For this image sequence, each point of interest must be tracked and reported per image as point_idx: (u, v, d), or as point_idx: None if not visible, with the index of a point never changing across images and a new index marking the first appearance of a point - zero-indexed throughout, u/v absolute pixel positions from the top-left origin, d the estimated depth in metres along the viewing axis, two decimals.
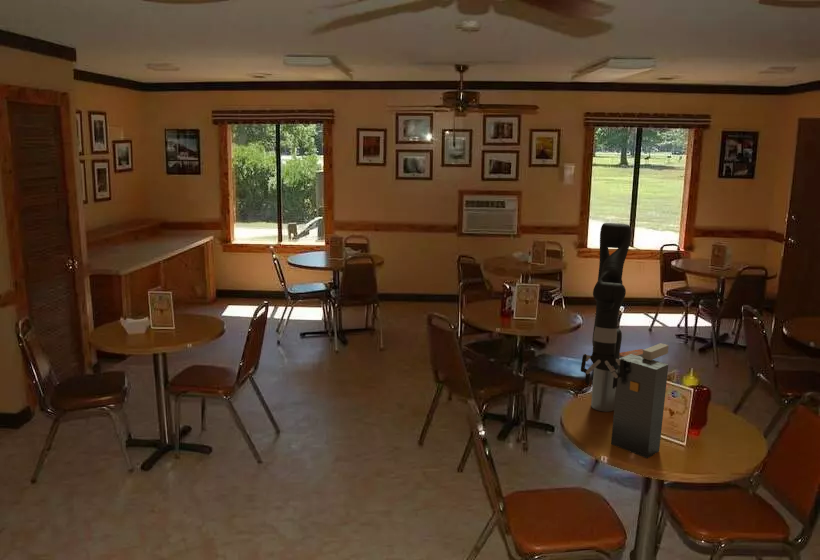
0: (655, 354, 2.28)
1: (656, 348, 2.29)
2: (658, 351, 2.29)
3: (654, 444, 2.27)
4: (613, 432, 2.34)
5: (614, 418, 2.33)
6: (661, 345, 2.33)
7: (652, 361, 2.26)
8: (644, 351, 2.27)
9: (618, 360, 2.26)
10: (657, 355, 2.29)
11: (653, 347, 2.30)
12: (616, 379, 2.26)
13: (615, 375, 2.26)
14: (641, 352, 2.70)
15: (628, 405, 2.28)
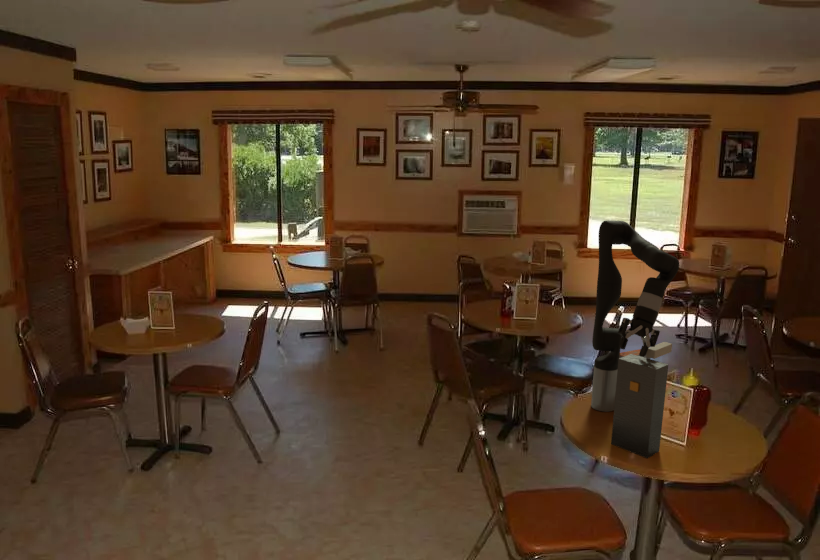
0: (659, 352, 2.29)
1: (660, 346, 2.31)
2: (662, 349, 2.31)
3: (654, 444, 2.27)
4: (613, 432, 2.34)
5: (614, 418, 2.33)
6: (665, 343, 2.35)
7: (652, 361, 2.26)
8: (648, 349, 2.29)
9: (654, 330, 2.28)
10: (660, 354, 2.30)
11: (657, 346, 2.32)
12: (647, 348, 2.27)
13: (648, 344, 2.27)
14: None
15: (628, 405, 2.28)
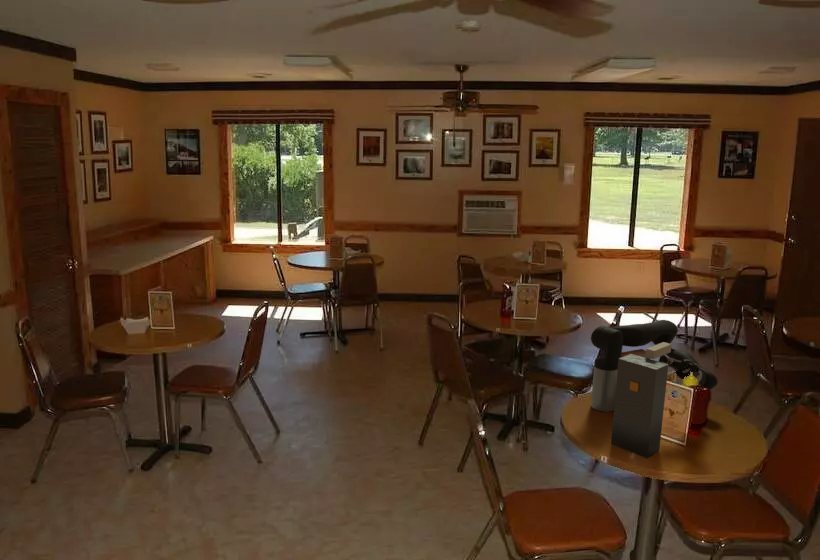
0: (658, 352, 2.29)
1: (659, 347, 2.31)
2: (661, 350, 2.30)
3: (654, 444, 2.27)
4: (613, 432, 2.34)
5: (614, 418, 2.33)
6: (664, 344, 2.34)
7: (652, 361, 2.26)
8: (647, 350, 2.29)
9: None
10: (660, 354, 2.30)
11: (656, 346, 2.32)
12: None
13: None
14: (641, 352, 2.70)
15: (628, 405, 2.28)
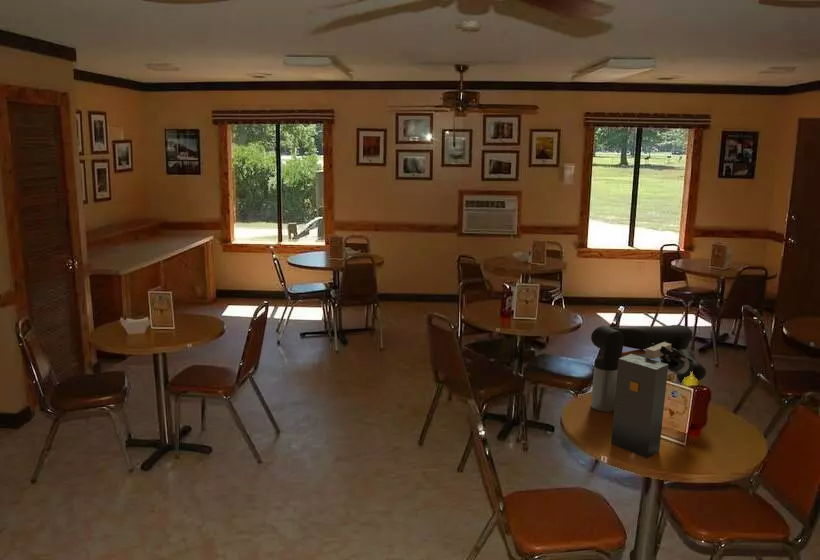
0: (658, 352, 2.29)
1: (659, 347, 2.31)
2: None
3: (654, 444, 2.27)
4: (613, 432, 2.34)
5: (614, 418, 2.33)
6: (664, 344, 2.34)
7: (652, 361, 2.26)
8: (647, 350, 2.29)
9: None
10: (659, 354, 2.30)
11: (656, 346, 2.32)
12: None
13: None
14: (641, 352, 2.70)
15: (628, 405, 2.28)
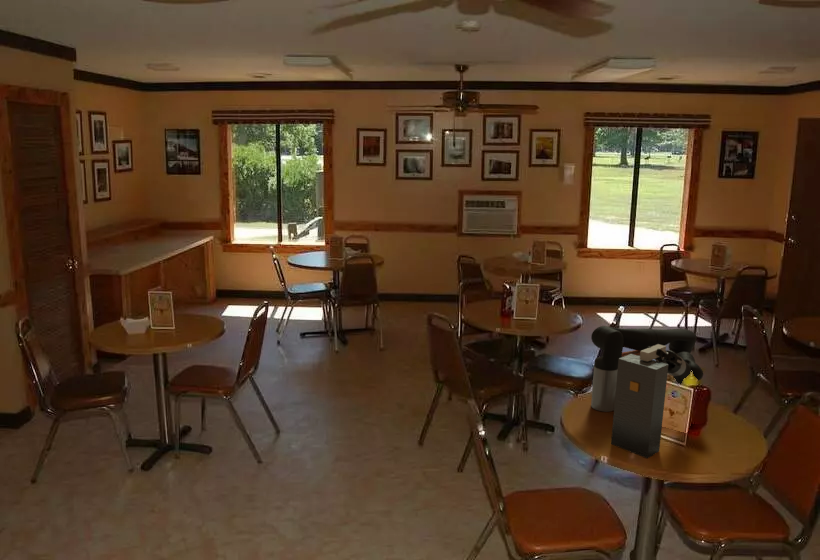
0: (652, 355, 2.26)
1: (654, 349, 2.28)
2: (655, 352, 2.28)
3: (654, 444, 2.27)
4: (613, 432, 2.34)
5: (614, 418, 2.33)
6: (659, 346, 2.32)
7: (652, 361, 2.26)
8: (641, 352, 2.26)
9: None
10: (654, 356, 2.28)
11: (650, 348, 2.29)
12: None
13: None
14: None
15: (628, 405, 2.28)
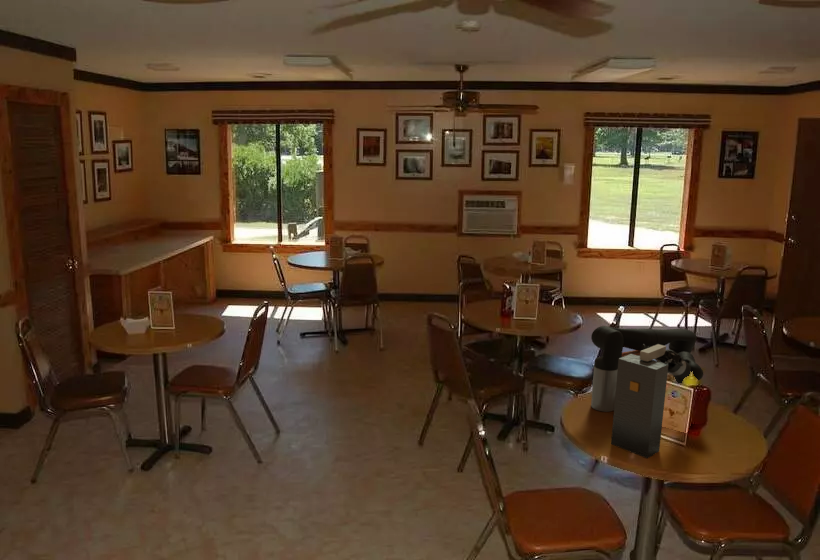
0: (652, 355, 2.26)
1: (654, 349, 2.28)
2: (655, 352, 2.28)
3: (654, 444, 2.27)
4: (613, 432, 2.34)
5: (614, 418, 2.33)
6: (659, 346, 2.32)
7: (652, 361, 2.26)
8: (641, 352, 2.26)
9: None
10: (654, 356, 2.28)
11: (650, 348, 2.29)
12: None
13: None
14: None
15: (628, 405, 2.28)
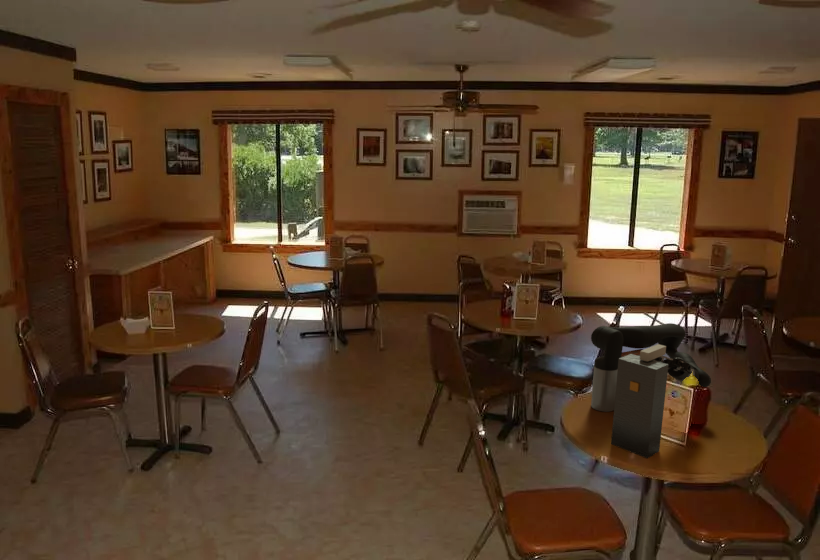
0: (652, 355, 2.26)
1: (654, 349, 2.28)
2: (655, 352, 2.28)
3: (654, 444, 2.27)
4: (613, 432, 2.34)
5: (614, 418, 2.33)
6: (659, 346, 2.32)
7: (652, 361, 2.26)
8: (641, 352, 2.26)
9: None
10: (654, 356, 2.28)
11: (650, 348, 2.29)
12: None
13: None
14: None
15: (628, 405, 2.28)
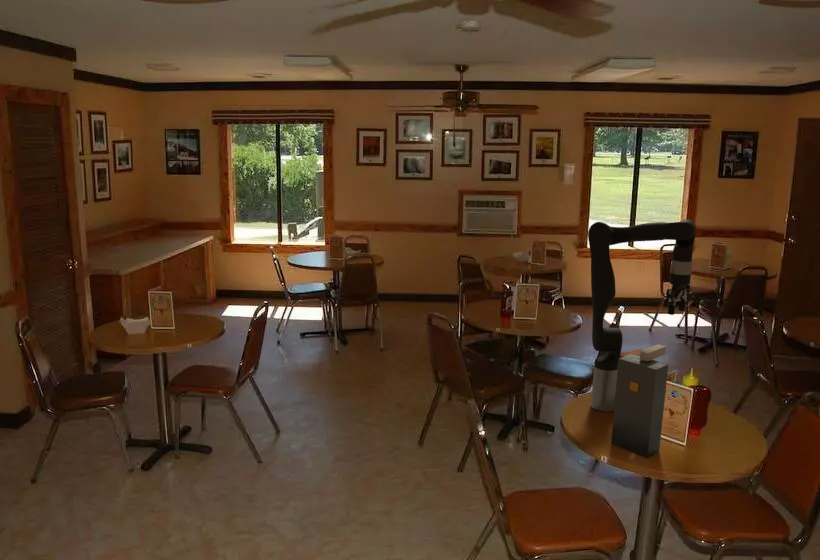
0: (652, 355, 2.26)
1: (654, 349, 2.28)
2: (655, 352, 2.28)
3: (654, 444, 2.27)
4: (613, 432, 2.34)
5: (614, 418, 2.33)
6: (659, 346, 2.32)
7: (652, 361, 2.26)
8: (641, 352, 2.26)
9: (686, 286, 2.59)
10: (654, 356, 2.28)
11: (650, 348, 2.29)
12: None
13: (686, 299, 2.59)
14: None
15: (628, 405, 2.28)
